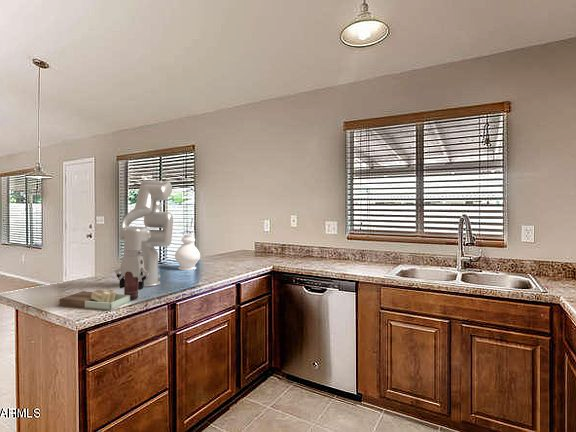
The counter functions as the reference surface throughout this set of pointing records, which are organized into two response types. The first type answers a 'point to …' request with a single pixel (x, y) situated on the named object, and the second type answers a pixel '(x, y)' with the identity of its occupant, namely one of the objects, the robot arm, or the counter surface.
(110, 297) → the tile
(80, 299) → the board
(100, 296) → the tile
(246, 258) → the counter surface
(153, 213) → the robot arm
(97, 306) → the tray
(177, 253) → the decorative vase
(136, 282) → the can
